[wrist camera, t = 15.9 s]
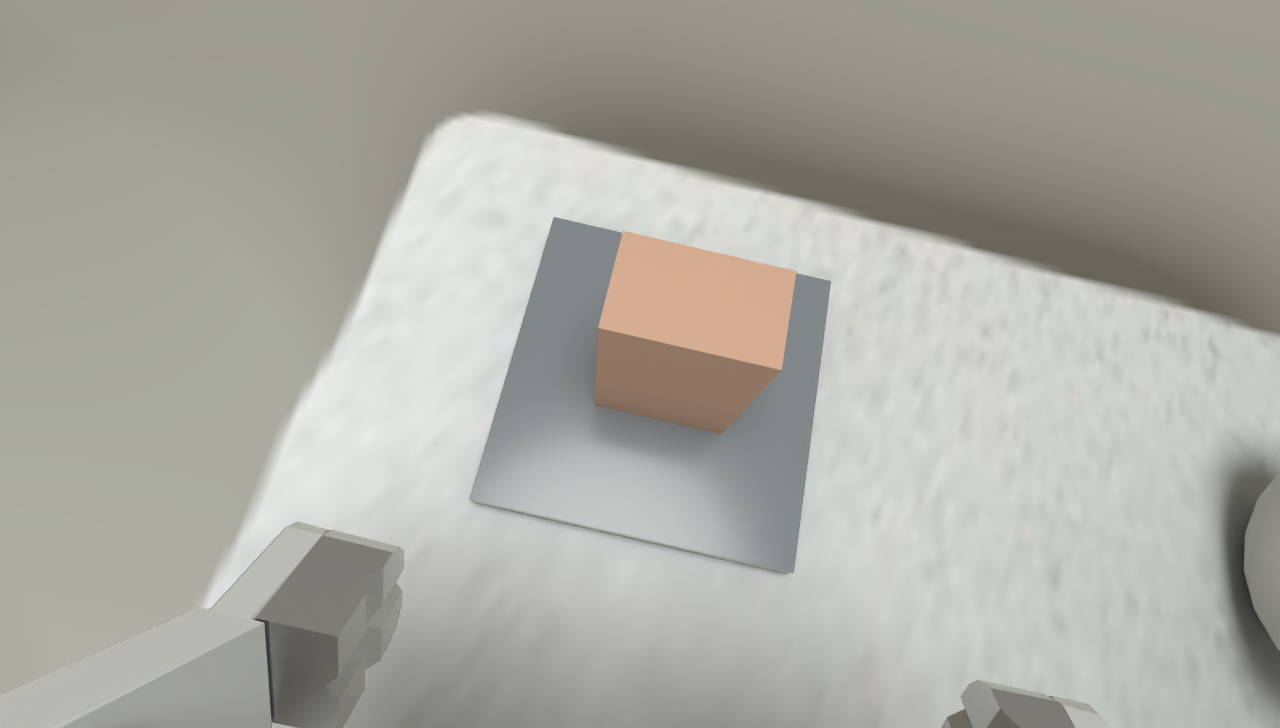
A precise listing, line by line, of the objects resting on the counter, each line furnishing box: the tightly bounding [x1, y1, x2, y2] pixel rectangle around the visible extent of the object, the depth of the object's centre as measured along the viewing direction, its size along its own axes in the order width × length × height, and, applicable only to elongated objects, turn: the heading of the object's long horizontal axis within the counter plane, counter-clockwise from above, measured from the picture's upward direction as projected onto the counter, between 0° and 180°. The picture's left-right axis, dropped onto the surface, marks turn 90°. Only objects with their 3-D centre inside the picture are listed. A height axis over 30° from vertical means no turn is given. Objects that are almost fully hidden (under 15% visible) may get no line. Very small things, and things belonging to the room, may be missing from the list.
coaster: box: [470, 217, 831, 574], centre depth 26 cm, size 12×12×1 cm
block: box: [594, 231, 796, 434], centre depth 21 cm, size 5×3×8 cm, turn 78°
